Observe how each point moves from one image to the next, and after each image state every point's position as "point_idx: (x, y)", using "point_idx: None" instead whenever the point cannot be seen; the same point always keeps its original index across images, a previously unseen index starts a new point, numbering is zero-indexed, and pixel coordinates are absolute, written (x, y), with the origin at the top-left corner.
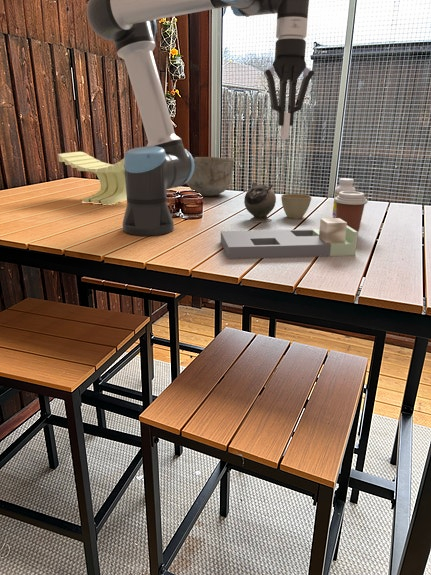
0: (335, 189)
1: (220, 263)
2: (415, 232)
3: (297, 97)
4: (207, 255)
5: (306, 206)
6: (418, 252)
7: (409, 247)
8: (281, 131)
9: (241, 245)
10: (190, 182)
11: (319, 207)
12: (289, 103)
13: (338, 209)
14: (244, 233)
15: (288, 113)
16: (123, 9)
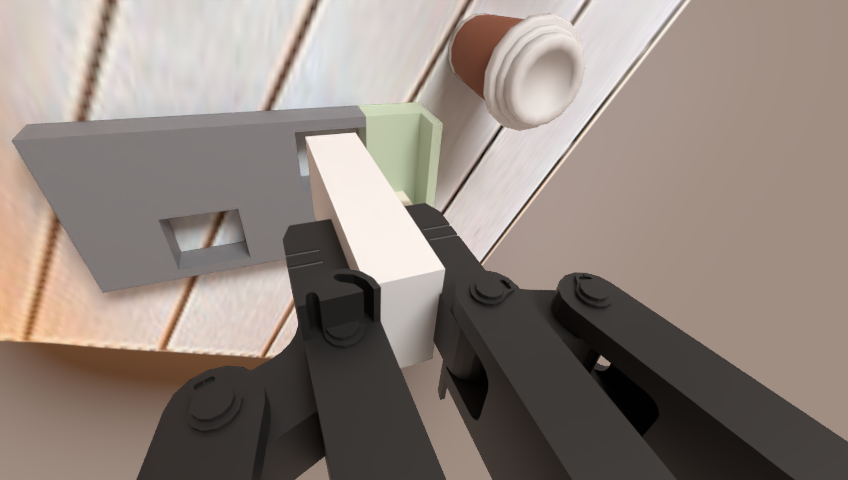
0: None
1: (94, 298)
2: (632, 47)
3: (716, 428)
4: (29, 254)
5: None
6: (526, 195)
7: (534, 166)
8: (318, 180)
9: (140, 276)
10: None
11: None
12: (493, 429)
13: (479, 79)
14: (129, 168)
15: (409, 362)
16: None
